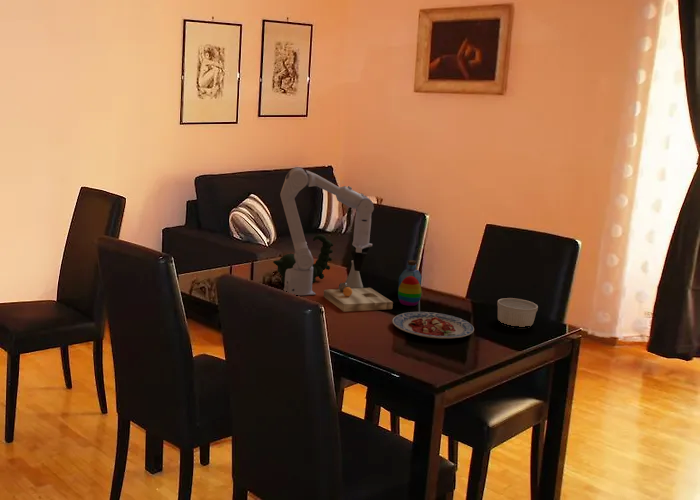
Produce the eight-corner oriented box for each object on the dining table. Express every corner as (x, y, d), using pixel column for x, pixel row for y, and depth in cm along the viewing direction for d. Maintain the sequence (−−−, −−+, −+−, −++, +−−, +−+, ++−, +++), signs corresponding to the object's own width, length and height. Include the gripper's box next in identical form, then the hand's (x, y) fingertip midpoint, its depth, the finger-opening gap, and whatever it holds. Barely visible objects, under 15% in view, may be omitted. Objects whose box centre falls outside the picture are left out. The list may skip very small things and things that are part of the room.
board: (343, 311, 266) (344, 304, 266) (323, 296, 282) (323, 289, 282) (392, 309, 274) (392, 301, 273) (369, 294, 290) (370, 287, 289)
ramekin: (536, 321, 273) (539, 301, 272) (534, 332, 261) (537, 311, 259) (497, 315, 276) (499, 295, 275) (493, 325, 264) (495, 305, 262)
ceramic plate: (379, 319, 262) (380, 310, 261) (449, 316, 271) (450, 308, 270) (412, 346, 238) (413, 336, 237) (488, 342, 247) (489, 333, 247)
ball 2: (344, 297, 274) (345, 288, 273) (341, 295, 277) (341, 286, 276) (353, 297, 275) (354, 288, 274) (349, 294, 278) (350, 285, 277)
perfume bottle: (397, 293, 295) (400, 261, 292) (404, 289, 300) (407, 258, 298) (413, 296, 292) (416, 264, 290) (420, 292, 298) (423, 261, 295)
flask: (363, 290, 294) (365, 264, 292) (343, 289, 294) (345, 262, 292) (363, 285, 301) (365, 259, 299) (343, 284, 301) (346, 258, 299)
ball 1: (340, 292, 280) (341, 283, 279) (337, 290, 282) (337, 281, 282) (349, 292, 281) (349, 283, 280) (345, 290, 284) (346, 281, 283)
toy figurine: (318, 280, 311) (263, 280, 295) (325, 232, 308) (270, 230, 292) (332, 286, 303) (277, 287, 288) (339, 237, 300) (284, 235, 285)
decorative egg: (425, 305, 281) (427, 277, 279) (408, 308, 276) (410, 280, 274) (409, 299, 287) (411, 272, 285) (392, 302, 282) (394, 274, 280)
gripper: (371, 235, 276) (368, 274, 279) (375, 228, 290) (371, 265, 293) (351, 233, 276) (347, 272, 279) (355, 226, 291) (352, 262, 293)
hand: (358, 268), depth 286 cm, fingers open, 7 cm apart
